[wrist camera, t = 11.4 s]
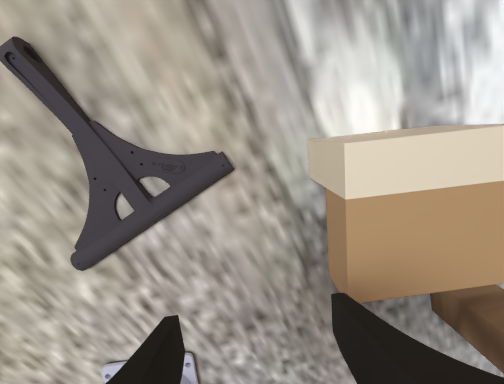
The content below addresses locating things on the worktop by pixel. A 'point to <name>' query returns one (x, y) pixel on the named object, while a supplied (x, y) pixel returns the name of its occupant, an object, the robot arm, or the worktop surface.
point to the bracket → (113, 165)
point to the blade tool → (475, 318)
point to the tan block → (413, 209)
